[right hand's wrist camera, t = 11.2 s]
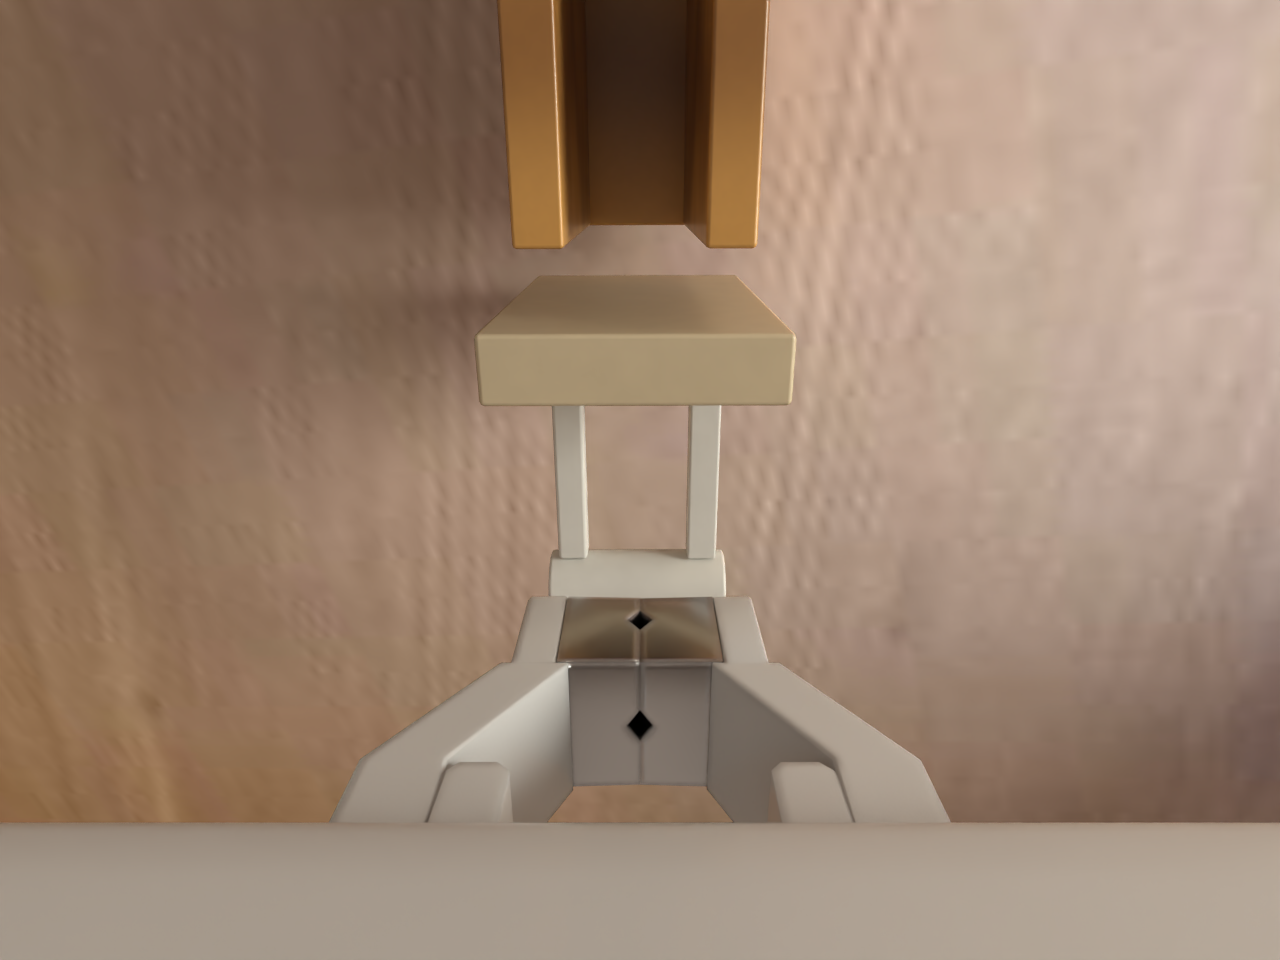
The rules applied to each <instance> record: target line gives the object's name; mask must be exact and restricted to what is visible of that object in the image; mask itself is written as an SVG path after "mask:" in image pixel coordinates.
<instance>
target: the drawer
mask: <svg viewBox="0 0 1280 960" xmlns="http://www.w3.org/2000/svg"><path fill="white" fill-rule="evenodd" d="M769 7H770V0H497V9H498V25H499V41H500V57H501V73H502V89H503V105H504V121H505V137H506V153H507V169H508V185H509V201H510V216H511V232H512V245H513V248H515V249H561V248H563V247H564V246H565V245H567V244H568V243H569V242H570V241H571V240H572V239H574V238H575V237H576V236H577V235H578V234H579V233H581V232H582V231H583V230H584V229H585V228H587V227H588V226H589V225H685V226H686V227H687V228H688V229H689V230H690V231H691V232H692V233H693V234H694V235H695V236H696V237H697V238H698V239H699V240H700V241H701V242H702V243H704V244H705V245H706V246H707V247H708V248H754V247H756V245H757V238H758V219H759V200H760V180H761V161H762V142H763V123H764V103H765V84H766V65H767V46H768V26H769ZM474 344H475V356H476V368H477V380H478V392H479V401H480V403H481V405H483V406H552V419H553V440H554V461H555V482H556V503H557V524H558V545H559V550H554V551H553V552H552V555H551V559H550V567H549V596H566V597H567V598H568V597H622V598H677V597H726V574H725V562H724V556H723V553H722V550H719V549H716V530H717V503H718V477H719V451H720V424H721V405H788V404H790V403H791V401H792V392H793V378H794V365H795V351H796V335H795V334H794V333H793V332H792V331H791V330H790V329H789V328H788V327H787V326H786V325H785V324H784V323H783V322H782V321H781V320H780V319H779V318H778V317H777V316H776V315H775V314H774V313H773V312H772V311H771V310H770V309H769V308H768V307H767V306H766V305H765V304H764V303H763V302H762V301H761V300H760V299H759V298H758V297H757V296H756V295H755V294H754V293H753V292H752V291H751V290H750V289H749V288H748V287H747V286H746V285H745V284H744V283H743V282H742V281H741V280H740V279H739V278H738V277H737V276H735V275H645V276H539V277H537V278H536V279H535V280H534V281H533V282H532V283H531V284H530V285H529V286H528V287H527V288H526V289H525V290H523V291H522V292H521V293H520V294H519V295H518V296H517V297H516V298H515V299H514V300H513V301H512V302H511V303H509V304H508V305H507V306H506V307H505V308H504V309H503V310H502V311H501V312H500V313H499V314H498V315H497V316H495V317H494V318H493V319H492V320H491V321H490V322H489V323H488V324H487V325H486V326H485V327H484V328H483V329H481V330H480V331H479V332H478V333H477V334H476V335H475V338H474ZM584 406H689V417H688V463H687V510H686V549H627V550H588V548H589V536H588V504H587V472H586V440H585V408H584Z"/></svg>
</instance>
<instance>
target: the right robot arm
mask: <svg viewBox="0 0 1280 960" xmlns="http://www.w3.org/2000/svg"><path fill="white" fill-rule="evenodd" d="M638 784H640V785H676V786H707V790H708V791H709V792H710V794H711V795H712V796H713V797H714V799H715V800H716V801H717V802H718V804H719V805H720V806H721V807H722V809H723V810H724V811H725V812H726V814H727V815H728V816H729V817H730V818H731V820H732V821H733V822H734V823H547V822H548V820H549V819H550V818H551V817H552V815H553V814H554V813H555V812H556V810H557V809H558V808H559V807H560V805H561V804H562V803H563V802H564V801H565V799H566V798H567V797H568V796H569V794H570V793H571V792H572V791H573V786H602V785H638ZM0 960H1280V823H951V821H950V819H949V817H948V815H947V813H946V811H945V809H944V807H943V805H942V803H941V801H940V799H939V797H938V794H937V792H936V790H935V788H934V786H933V784H932V782H931V780H930V778H929V776H928V774H927V772H926V770H925V768H924V766H923V764H922V762H921V760H920V759H919V758H917V757H916V756H914V755H913V754H911V753H910V752H908V751H907V750H905V749H904V748H903V747H901V746H900V745H898V744H897V743H895V742H894V741H892V740H891V739H889V738H888V737H887V736H885V735H884V734H882V733H881V732H879V731H878V730H876V729H875V728H873V727H872V726H870V725H869V724H868V723H866V722H865V721H863V720H862V719H860V718H859V717H857V716H856V715H854V714H853V713H852V712H850V711H849V710H847V709H846V708H844V707H843V706H841V705H840V704H838V703H837V702H836V701H834V700H833V699H831V698H830V697H828V696H827V695H825V694H824V693H822V692H821V691H820V690H818V689H817V688H815V687H814V686H812V685H811V684H809V683H808V682H806V681H805V680H804V679H802V678H801V677H799V676H798V675H796V674H795V673H793V672H792V671H790V670H789V669H788V668H786V667H785V666H783V665H782V664H780V663H769V662H768V658H767V654H766V651H765V647H764V643H763V640H762V636H761V633H760V629H759V625H758V622H757V618H756V614H755V611H754V607H753V604H752V600H751V598H750V597H749V596H726V597H677V598H622V597H568V598H567V597H566V596H533V597H531V598H530V599H529V600H528V603H527V606H526V610H525V614H524V617H523V621H522V625H521V628H520V632H519V636H518V640H517V643H516V647H515V651H514V654H513V658H512V662H511V663H500V664H498V665H497V666H495V667H494V668H493V669H491V670H490V671H488V672H487V673H485V674H484V675H482V676H481V677H479V678H478V679H476V680H475V681H473V682H472V683H471V684H469V685H468V686H466V687H465V688H463V689H462V690H460V691H459V692H457V693H456V694H454V695H453V696H452V697H450V698H449V699H447V700H446V701H444V702H443V703H441V704H440V705H438V706H437V707H435V708H434V709H433V710H431V711H430V712H428V713H427V714H425V715H424V716H422V717H421V718H419V719H418V720H416V721H415V722H414V723H412V724H411V725H409V726H408V727H406V728H405V729H403V730H402V731H400V732H399V733H397V734H396V735H395V736H393V737H392V738H390V739H389V740H387V741H386V742H384V743H383V744H381V745H380V746H378V747H377V748H375V749H374V750H373V751H371V752H370V753H368V754H367V755H365V756H364V757H362V758H361V759H360V760H359V762H358V764H357V766H356V769H355V771H354V773H353V775H352V777H351V779H350V781H349V783H348V785H347V787H346V789H345V791H344V793H343V795H342V797H341V799H340V801H339V803H338V805H337V807H336V809H335V811H334V813H333V815H332V817H331V819H330V821H329V823H0Z"/></svg>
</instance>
